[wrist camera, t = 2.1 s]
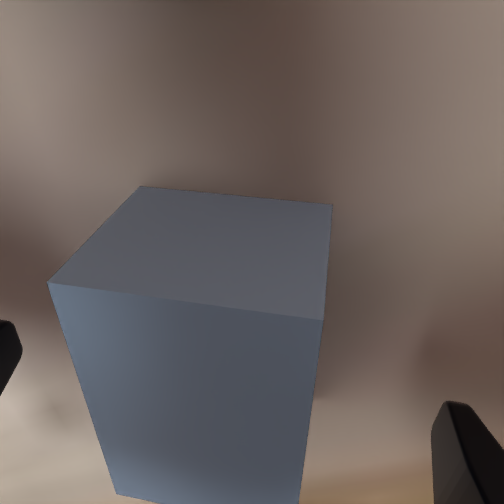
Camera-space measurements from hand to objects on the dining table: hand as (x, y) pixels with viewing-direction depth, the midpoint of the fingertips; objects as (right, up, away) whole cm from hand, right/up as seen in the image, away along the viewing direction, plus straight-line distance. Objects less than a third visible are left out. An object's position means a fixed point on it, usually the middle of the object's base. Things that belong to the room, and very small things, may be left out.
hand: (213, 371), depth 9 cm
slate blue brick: (0, +1, +2) cm, 2 cm away
